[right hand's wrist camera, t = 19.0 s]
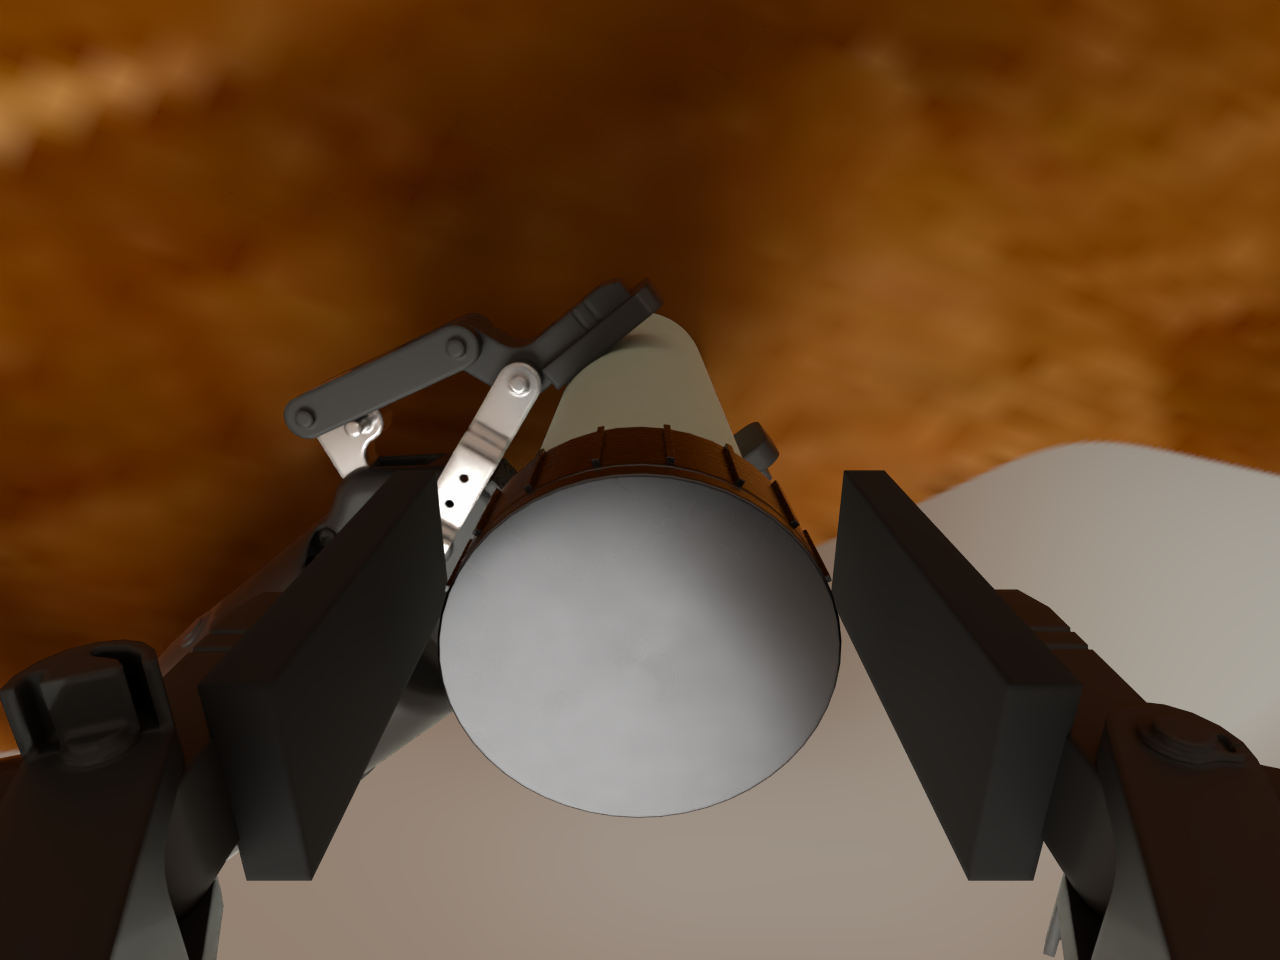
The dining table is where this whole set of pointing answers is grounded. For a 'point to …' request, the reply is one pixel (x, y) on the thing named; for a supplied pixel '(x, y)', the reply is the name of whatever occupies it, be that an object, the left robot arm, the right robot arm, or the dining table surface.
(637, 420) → the pale green capped tube
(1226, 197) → the dining table surface
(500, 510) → the lid
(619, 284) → the left robot arm
